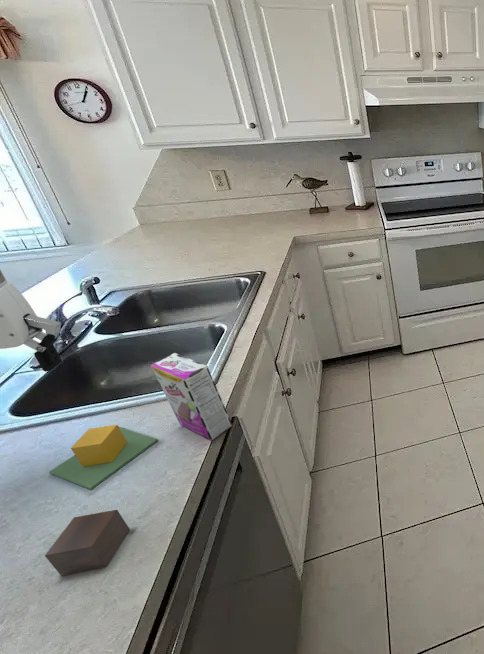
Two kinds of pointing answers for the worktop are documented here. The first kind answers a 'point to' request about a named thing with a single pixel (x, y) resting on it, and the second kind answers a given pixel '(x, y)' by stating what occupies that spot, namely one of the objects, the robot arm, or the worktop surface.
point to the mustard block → (99, 445)
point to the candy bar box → (192, 395)
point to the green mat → (100, 472)
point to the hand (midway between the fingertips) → (20, 370)
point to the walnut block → (88, 542)
